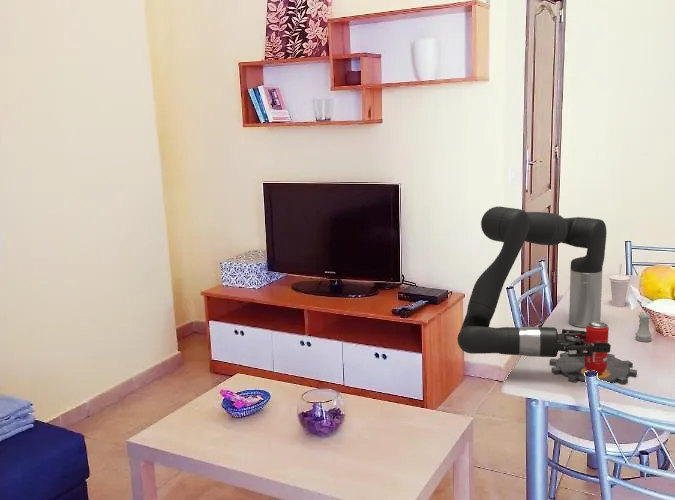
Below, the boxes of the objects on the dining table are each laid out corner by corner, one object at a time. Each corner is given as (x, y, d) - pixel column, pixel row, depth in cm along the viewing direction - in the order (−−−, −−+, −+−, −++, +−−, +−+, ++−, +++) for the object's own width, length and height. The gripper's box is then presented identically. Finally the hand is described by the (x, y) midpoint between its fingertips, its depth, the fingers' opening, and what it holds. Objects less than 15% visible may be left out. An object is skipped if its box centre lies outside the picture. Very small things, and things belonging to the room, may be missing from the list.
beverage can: (596, 375, 168) (598, 329, 166) (580, 368, 173) (581, 323, 170) (611, 371, 171) (613, 325, 168) (594, 364, 175) (596, 320, 173)
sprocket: (546, 354, 189) (546, 345, 189) (625, 355, 185) (626, 346, 185) (555, 384, 169) (555, 375, 168) (644, 387, 165) (645, 377, 164)
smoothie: (630, 303, 230) (632, 263, 227) (626, 308, 225) (628, 267, 222) (610, 301, 234) (612, 261, 231) (606, 306, 228) (608, 265, 225)
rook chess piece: (648, 337, 199) (650, 310, 197) (654, 342, 194) (655, 315, 192) (632, 337, 199) (634, 311, 197) (637, 342, 195) (639, 315, 193)
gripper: (540, 337, 165) (614, 339, 162) (535, 318, 179) (603, 320, 176) (539, 366, 167) (613, 369, 164) (534, 345, 181) (601, 347, 178)
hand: (607, 343), depth 170 cm, fingers closed on beverage can, 5 cm apart
